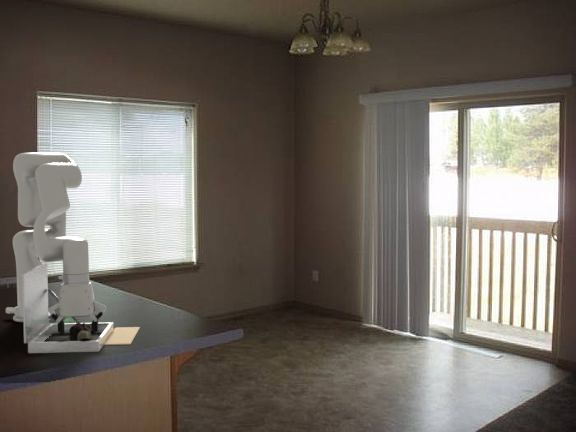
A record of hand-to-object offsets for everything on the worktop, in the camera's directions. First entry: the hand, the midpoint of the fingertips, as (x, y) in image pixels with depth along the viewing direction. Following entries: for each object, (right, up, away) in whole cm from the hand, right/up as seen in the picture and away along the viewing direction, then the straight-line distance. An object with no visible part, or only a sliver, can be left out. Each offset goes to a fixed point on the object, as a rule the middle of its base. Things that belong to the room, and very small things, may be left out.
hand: (78, 334), depth 192 cm
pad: (+12, -2, +7) cm, 14 cm away
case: (-2, -2, +1) cm, 3 cm away
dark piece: (+1, -3, 0) cm, 4 cm away
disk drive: (-14, -2, +22) cm, 26 cm away
